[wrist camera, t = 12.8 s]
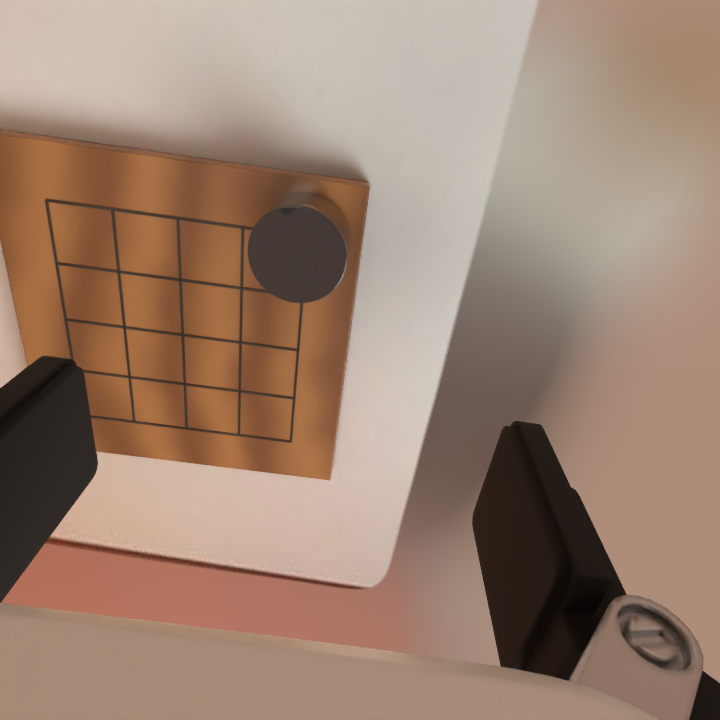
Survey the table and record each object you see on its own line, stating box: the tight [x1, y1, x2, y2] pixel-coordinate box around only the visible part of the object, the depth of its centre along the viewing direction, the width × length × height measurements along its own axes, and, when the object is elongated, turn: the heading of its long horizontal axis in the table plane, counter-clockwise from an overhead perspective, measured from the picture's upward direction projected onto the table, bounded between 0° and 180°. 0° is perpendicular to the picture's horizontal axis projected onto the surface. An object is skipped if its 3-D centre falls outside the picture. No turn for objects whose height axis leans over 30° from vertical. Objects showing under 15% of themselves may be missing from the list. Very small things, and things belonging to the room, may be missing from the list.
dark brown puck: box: [247, 192, 351, 303], centre depth 25 cm, size 5×5×4 cm
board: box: [0, 130, 370, 480], centre depth 31 cm, size 20×20×2 cm
